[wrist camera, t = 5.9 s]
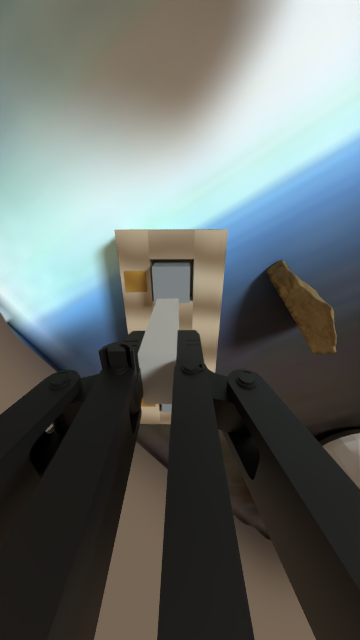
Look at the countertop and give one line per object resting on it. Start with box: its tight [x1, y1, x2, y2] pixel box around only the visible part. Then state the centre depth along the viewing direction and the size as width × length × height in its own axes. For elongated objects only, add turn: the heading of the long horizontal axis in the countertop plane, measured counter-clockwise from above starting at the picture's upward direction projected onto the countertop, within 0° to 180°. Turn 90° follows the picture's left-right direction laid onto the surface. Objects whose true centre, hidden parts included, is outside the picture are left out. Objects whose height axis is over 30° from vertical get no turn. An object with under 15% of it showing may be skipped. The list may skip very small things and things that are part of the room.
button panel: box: [115, 229, 228, 424], centre depth 29 cm, size 30×12×4 cm, turn 0°
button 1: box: [152, 262, 190, 303], centre depth 23 cm, size 4×4×3 cm
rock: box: [266, 260, 336, 354], centre depth 25 cm, size 11×9×10 cm
